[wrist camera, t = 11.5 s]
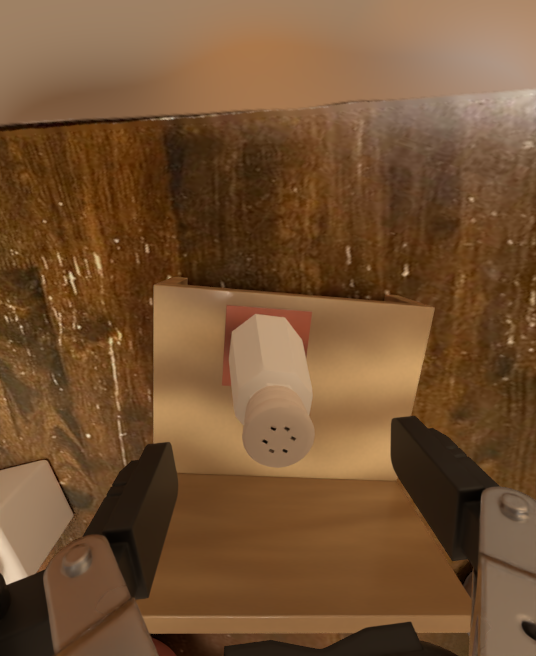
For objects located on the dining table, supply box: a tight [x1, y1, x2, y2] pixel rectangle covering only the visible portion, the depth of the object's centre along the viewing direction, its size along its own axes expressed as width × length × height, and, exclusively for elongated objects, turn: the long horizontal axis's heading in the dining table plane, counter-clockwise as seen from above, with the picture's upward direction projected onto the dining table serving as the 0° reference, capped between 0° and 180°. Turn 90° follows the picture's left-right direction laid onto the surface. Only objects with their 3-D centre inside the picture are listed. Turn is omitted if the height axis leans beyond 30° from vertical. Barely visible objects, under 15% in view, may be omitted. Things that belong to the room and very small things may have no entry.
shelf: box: [136, 277, 471, 634], centre depth 22 cm, size 16×20×16 cm
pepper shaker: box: [229, 314, 315, 468], centre depth 17 cm, size 5×5×11 cm
